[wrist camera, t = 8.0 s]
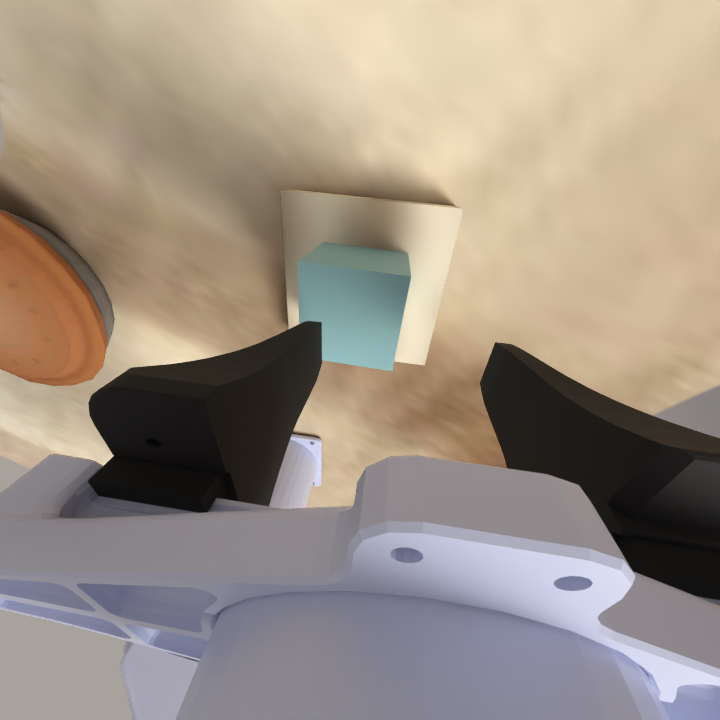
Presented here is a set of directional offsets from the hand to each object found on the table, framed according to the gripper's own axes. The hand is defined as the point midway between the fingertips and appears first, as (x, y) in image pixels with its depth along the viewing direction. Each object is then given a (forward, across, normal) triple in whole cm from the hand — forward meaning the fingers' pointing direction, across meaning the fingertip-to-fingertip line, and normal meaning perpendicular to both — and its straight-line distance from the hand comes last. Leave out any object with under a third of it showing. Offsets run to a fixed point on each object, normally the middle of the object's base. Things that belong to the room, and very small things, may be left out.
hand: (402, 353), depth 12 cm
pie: (+10, +30, +3) cm, 31 cm away
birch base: (+10, +3, 0) cm, 10 cm away
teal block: (+7, +3, 0) cm, 7 cm away
